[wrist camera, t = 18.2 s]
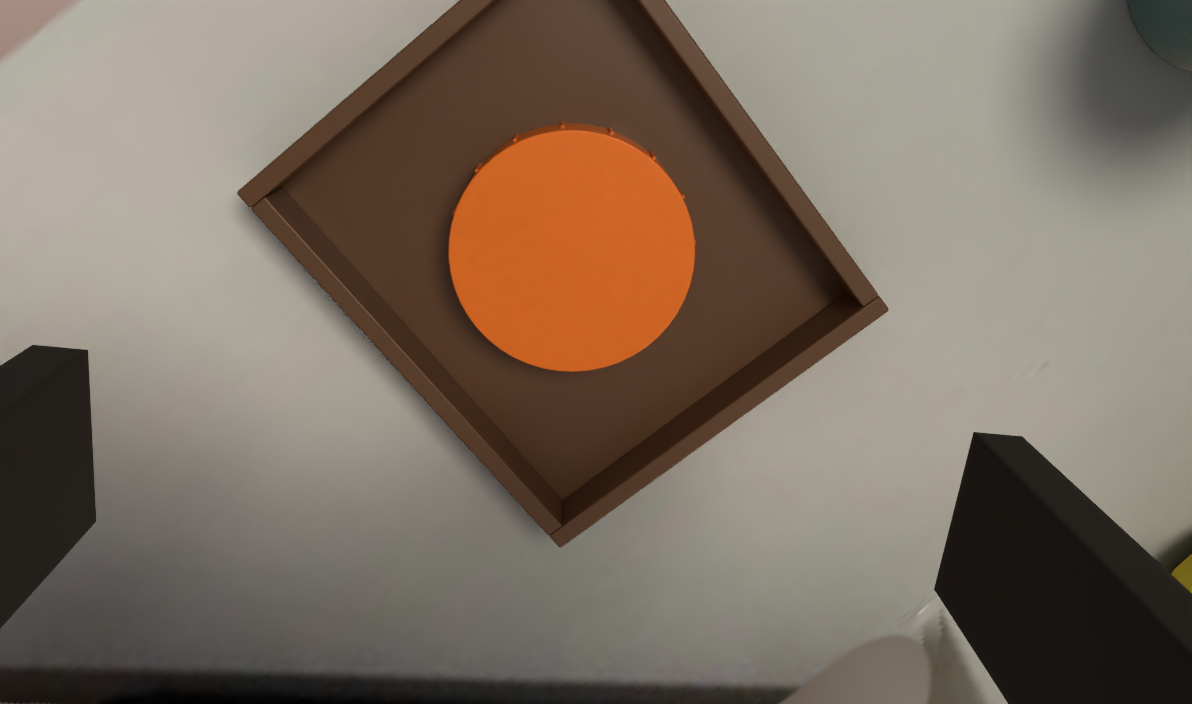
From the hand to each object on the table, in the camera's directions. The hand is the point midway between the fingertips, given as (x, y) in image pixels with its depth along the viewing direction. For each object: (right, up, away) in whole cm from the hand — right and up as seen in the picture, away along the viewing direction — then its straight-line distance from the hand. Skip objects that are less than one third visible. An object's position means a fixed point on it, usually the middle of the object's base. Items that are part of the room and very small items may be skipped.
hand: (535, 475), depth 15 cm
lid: (0, +5, +16) cm, 17 cm away
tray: (0, +6, +18) cm, 19 cm away
